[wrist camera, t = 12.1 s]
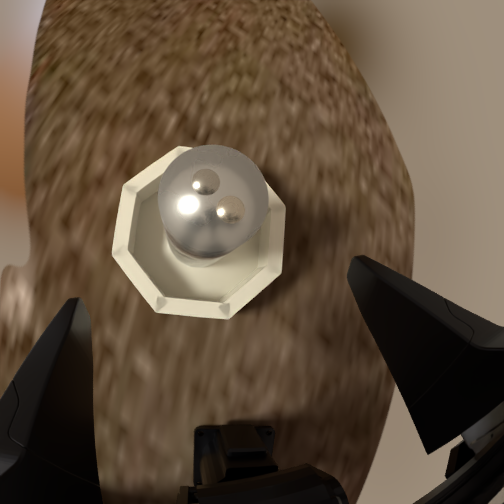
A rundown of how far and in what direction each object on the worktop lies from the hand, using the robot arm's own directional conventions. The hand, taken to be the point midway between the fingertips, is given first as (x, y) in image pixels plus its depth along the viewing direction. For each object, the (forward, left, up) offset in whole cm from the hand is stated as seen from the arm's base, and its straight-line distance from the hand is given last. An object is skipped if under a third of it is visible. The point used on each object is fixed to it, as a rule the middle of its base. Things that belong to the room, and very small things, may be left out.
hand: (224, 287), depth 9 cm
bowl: (+4, 0, -13) cm, 14 cm away
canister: (+3, 0, -12) cm, 13 cm away
